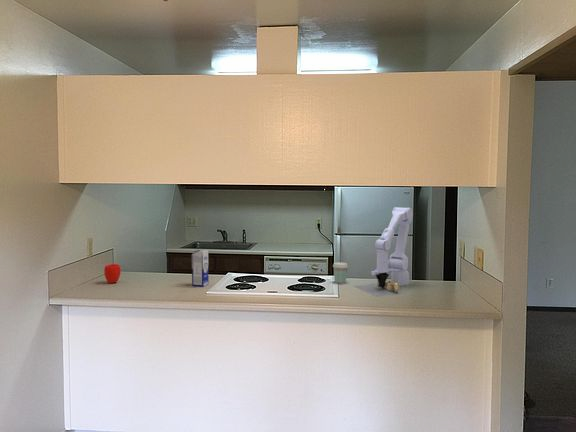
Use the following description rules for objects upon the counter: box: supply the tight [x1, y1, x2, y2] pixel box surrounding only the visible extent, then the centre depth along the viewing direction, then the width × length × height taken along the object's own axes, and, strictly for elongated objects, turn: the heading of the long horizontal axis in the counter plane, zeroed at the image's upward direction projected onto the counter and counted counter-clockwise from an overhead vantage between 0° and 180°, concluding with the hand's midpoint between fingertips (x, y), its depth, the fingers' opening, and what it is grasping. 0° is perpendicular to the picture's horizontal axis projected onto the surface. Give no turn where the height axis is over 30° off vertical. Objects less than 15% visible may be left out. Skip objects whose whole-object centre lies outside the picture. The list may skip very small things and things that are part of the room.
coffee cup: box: [332, 261, 349, 285], centre depth 255 cm, size 8×8×12 cm
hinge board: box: [353, 283, 407, 297], centre depth 239 cm, size 18×24×1 cm
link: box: [376, 279, 394, 291], centre depth 241 cm, size 16×4×3 cm, turn 18°
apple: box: [103, 263, 122, 284], centre depth 257 cm, size 9×9×11 cm
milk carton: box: [191, 249, 210, 288], centre depth 251 cm, size 7×7×20 cm
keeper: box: [388, 280, 399, 295], centre depth 233 cm, size 6×2×5 cm, turn 15°
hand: (381, 287), depth 240 cm, fingers closed
